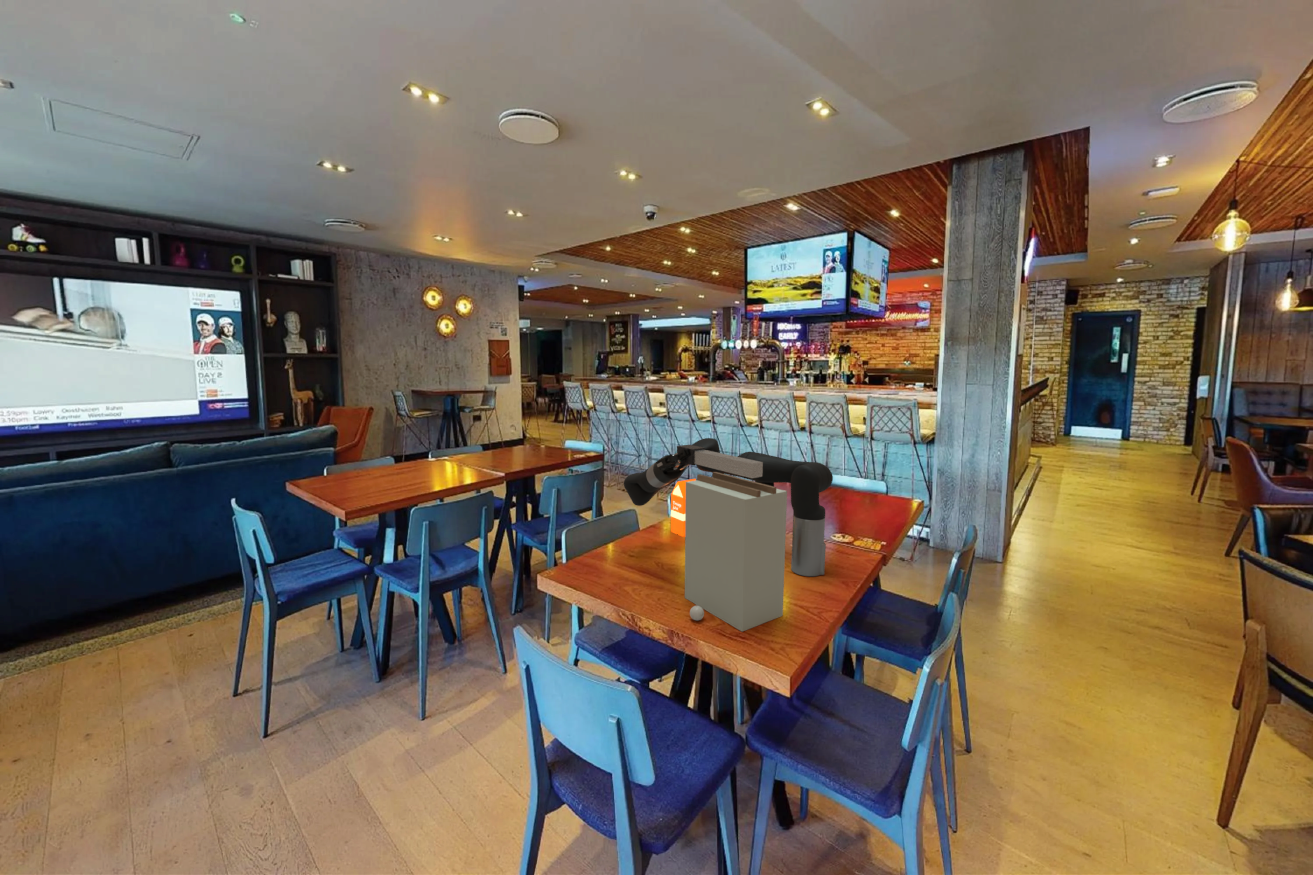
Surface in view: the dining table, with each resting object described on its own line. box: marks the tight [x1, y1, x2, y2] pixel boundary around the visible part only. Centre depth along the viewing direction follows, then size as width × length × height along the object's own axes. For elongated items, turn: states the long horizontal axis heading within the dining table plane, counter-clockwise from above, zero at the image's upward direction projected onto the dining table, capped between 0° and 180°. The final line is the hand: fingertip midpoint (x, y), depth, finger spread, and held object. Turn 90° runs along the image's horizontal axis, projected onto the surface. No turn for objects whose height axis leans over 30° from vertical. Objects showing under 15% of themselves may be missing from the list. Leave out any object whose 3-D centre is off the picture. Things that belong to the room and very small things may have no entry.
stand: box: [684, 472, 788, 633], centre depth 135 cm, size 23×14×34 cm, turn 35°
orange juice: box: [670, 478, 697, 538], centre depth 196 cm, size 8×9×20 cm
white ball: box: [689, 605, 705, 621], centre depth 129 cm, size 4×4×4 cm
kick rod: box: [676, 444, 763, 478], centre depth 137 cm, size 29×4×4 cm, turn 35°
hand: (694, 450), depth 144 cm, fingers closed on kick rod, 4 cm apart
